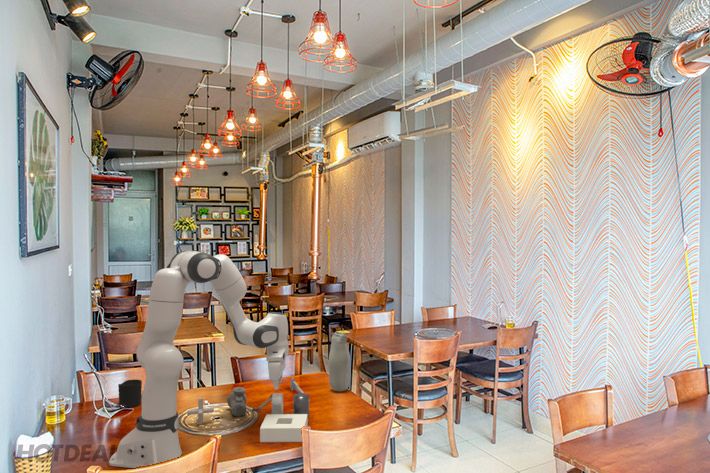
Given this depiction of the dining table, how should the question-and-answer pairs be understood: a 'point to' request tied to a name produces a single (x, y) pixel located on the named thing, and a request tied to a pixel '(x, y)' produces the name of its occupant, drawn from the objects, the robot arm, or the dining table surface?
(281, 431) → the bore block
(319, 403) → the dining table surface
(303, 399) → the round pin
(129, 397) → the pen holder
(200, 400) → the pipe connector
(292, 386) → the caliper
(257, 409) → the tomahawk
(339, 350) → the grey bottle
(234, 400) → the pipe fitting
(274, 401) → the square bar
